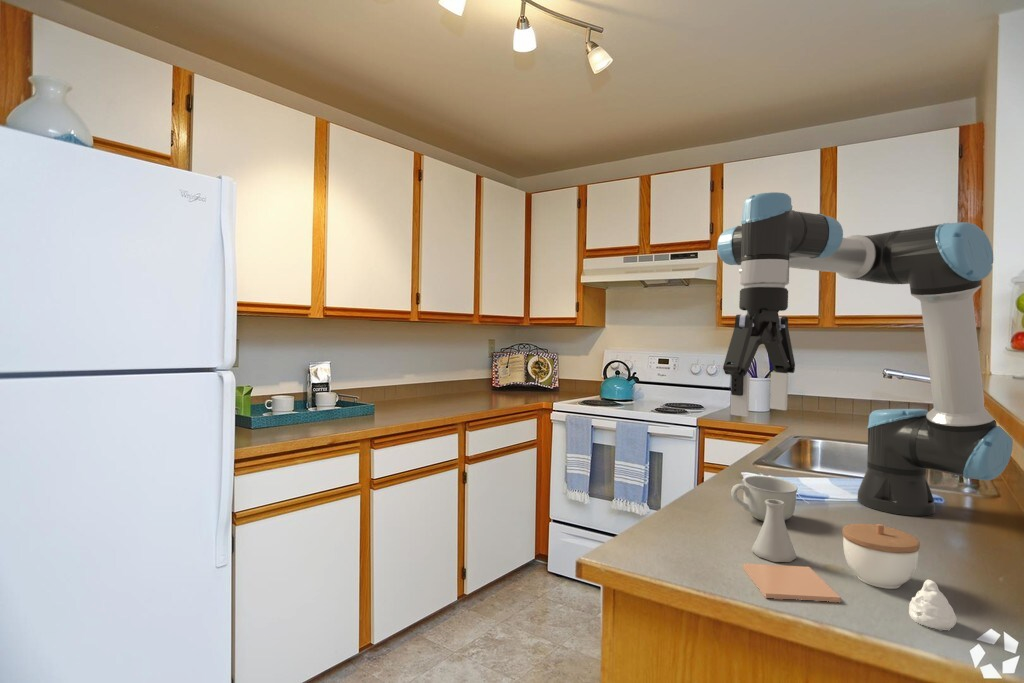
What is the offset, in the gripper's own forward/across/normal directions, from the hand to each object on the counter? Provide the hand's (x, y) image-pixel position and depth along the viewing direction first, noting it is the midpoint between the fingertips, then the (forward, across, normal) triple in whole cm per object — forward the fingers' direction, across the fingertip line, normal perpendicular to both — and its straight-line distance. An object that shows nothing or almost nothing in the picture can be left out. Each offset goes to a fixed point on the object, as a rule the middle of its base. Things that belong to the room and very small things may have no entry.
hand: (759, 412), depth 96 cm
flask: (+28, -10, -1) cm, 29 cm away
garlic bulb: (+28, -4, +24) cm, 37 cm away
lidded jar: (+27, -13, +15) cm, 34 cm away
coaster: (+27, 0, +6) cm, 28 cm away
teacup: (+27, -28, -13) cm, 41 cm away
